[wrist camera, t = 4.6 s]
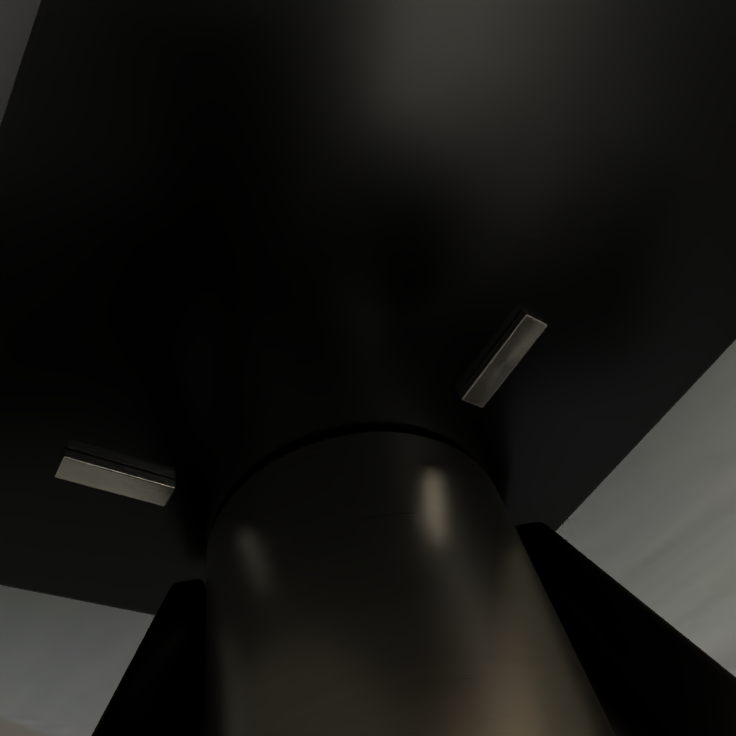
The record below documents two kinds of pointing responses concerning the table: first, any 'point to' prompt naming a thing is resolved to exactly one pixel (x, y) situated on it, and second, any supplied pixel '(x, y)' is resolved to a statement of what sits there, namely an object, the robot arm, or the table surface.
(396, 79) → the dial panel
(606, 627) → the robot arm
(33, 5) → the table surface
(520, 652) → the dial
